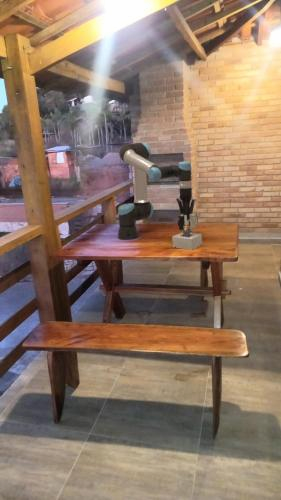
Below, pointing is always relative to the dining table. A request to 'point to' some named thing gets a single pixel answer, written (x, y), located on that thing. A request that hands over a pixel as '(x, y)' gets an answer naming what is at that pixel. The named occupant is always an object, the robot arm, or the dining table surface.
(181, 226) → the ball valve
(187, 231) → the steel pin
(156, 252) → the dining table surface
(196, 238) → the block
